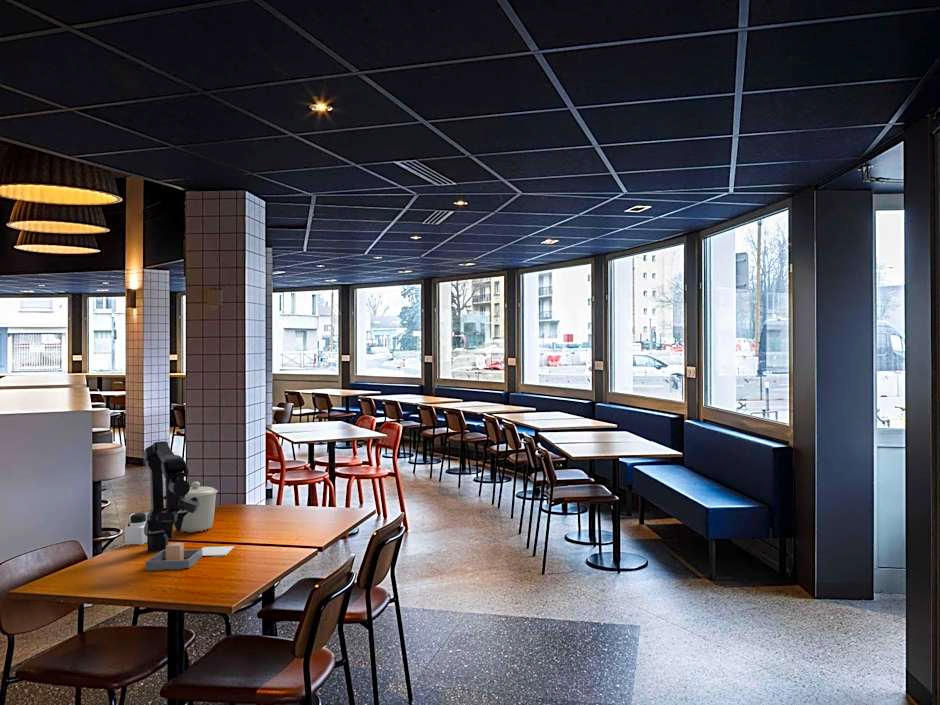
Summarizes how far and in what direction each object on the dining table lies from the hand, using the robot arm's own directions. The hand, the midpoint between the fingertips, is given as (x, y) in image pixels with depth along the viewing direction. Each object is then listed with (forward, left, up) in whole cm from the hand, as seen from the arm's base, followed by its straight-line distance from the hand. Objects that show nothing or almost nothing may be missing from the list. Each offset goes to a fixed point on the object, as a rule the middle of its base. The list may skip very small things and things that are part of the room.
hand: (174, 535), depth 264 cm
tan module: (0, 0, -10) cm, 10 cm away
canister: (-9, +53, -10) cm, 55 cm away
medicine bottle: (-26, +33, -10) cm, 43 cm away
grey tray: (0, 0, -10) cm, 10 cm away
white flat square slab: (+10, +14, -10) cm, 20 cm away
